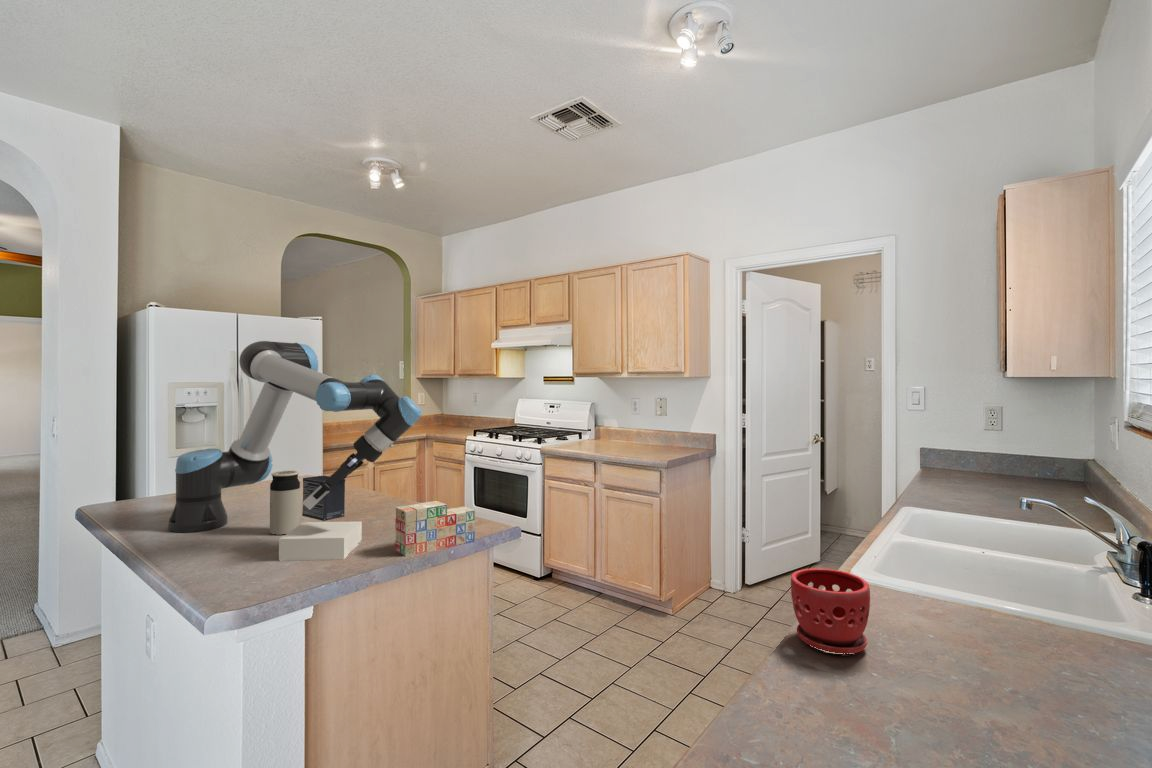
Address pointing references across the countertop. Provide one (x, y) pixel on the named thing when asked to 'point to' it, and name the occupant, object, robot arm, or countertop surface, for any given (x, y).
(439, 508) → the stack of blocks
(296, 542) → the cream block
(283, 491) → the travel mug
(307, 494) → the small box
